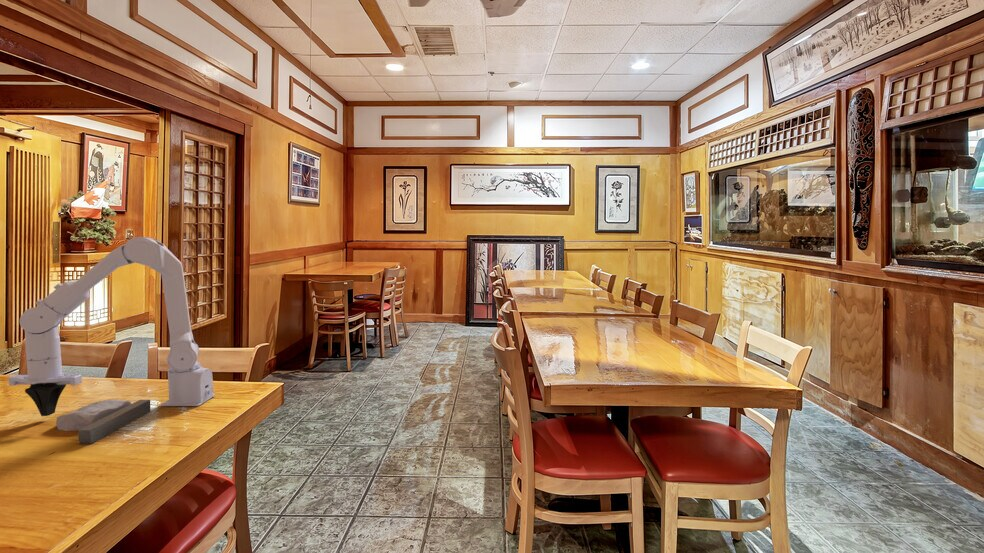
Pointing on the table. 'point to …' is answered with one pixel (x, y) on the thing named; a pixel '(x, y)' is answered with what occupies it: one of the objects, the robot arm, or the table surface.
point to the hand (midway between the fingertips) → (48, 414)
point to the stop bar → (113, 422)
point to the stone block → (89, 414)
